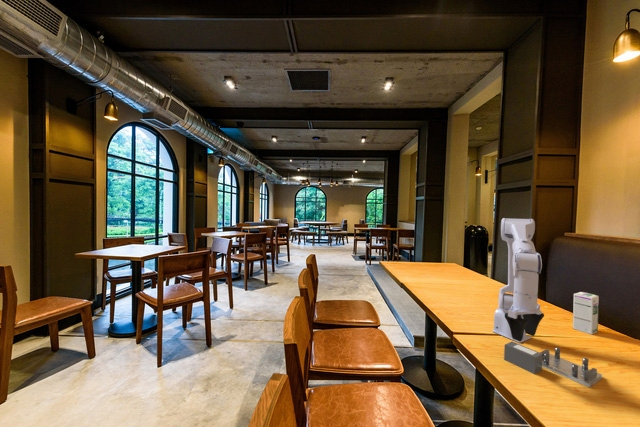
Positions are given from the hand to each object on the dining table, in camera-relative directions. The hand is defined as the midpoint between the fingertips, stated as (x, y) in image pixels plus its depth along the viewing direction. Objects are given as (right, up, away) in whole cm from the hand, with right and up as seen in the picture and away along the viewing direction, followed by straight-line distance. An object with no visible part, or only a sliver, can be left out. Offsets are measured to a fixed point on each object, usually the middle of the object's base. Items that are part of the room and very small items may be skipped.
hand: (523, 337), depth 79 cm
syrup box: (+44, -9, +25) cm, 51 cm away
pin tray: (+11, -9, -2) cm, 14 cm away
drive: (0, -9, 0) cm, 9 cm away
